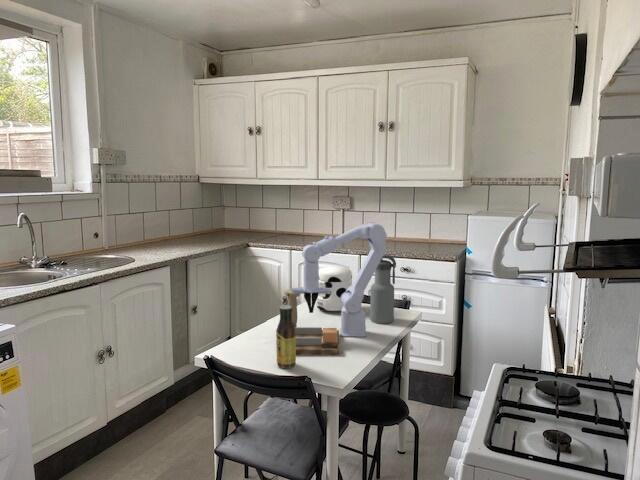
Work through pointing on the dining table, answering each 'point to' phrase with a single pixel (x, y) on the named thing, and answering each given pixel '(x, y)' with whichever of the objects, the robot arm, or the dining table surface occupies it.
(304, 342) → the gray rectangular frame
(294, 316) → the handle
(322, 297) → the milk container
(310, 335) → the board
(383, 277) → the water bottle
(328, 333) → the block
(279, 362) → the sauce bottle
